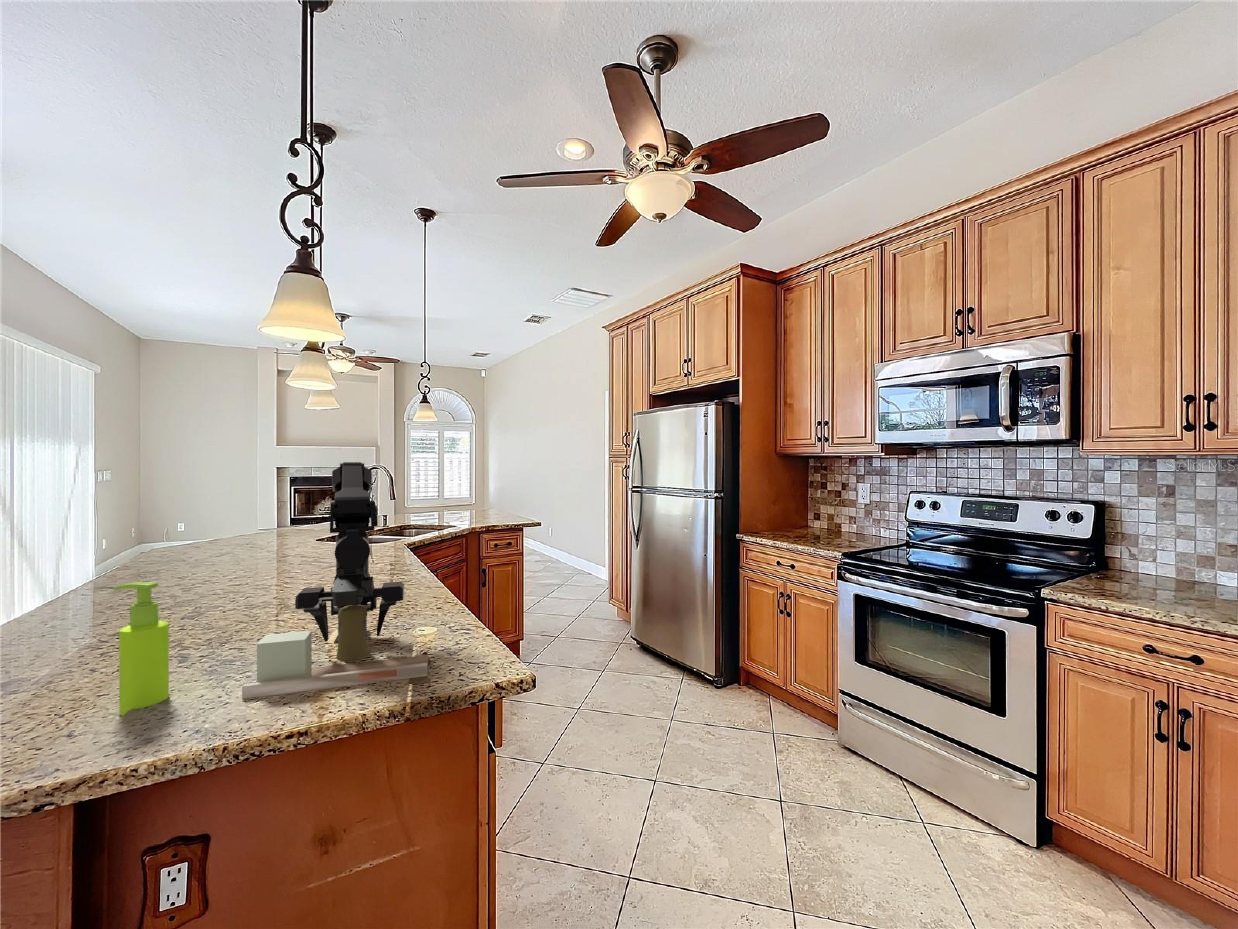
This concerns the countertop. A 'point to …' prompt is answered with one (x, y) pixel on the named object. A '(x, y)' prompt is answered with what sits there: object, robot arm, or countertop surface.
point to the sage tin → (284, 656)
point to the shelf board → (345, 676)
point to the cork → (352, 633)
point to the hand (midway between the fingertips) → (352, 638)
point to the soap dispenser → (143, 653)
